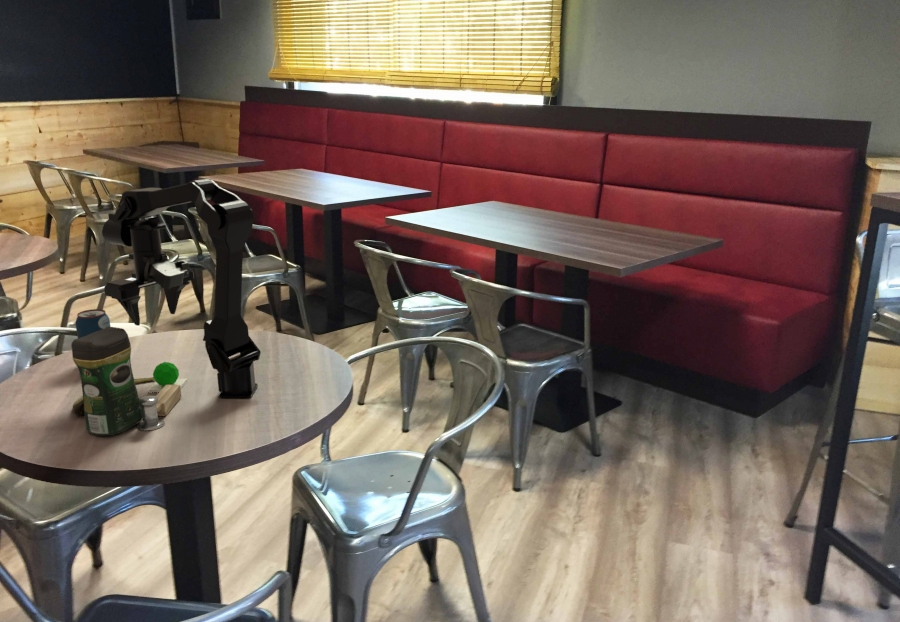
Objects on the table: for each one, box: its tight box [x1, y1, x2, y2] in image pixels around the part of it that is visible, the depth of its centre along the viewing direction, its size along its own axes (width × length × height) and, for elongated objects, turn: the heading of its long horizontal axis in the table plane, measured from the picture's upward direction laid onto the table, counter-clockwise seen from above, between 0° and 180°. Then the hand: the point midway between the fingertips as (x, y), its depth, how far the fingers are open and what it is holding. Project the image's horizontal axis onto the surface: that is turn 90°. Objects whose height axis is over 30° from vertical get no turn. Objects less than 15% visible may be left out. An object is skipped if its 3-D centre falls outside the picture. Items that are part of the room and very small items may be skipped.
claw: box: [72, 376, 155, 417], centre depth 150 cm, size 20×10×3 cm, turn 176°
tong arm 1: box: [155, 385, 173, 414], centre depth 145 cm, size 1×11×3 cm, turn 0°
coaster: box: [147, 378, 188, 394], centre depth 155 cm, size 6×6×1 cm
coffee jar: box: [71, 326, 143, 437], centre depth 135 cm, size 10×8×19 cm
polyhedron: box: [152, 361, 180, 386], centre depth 154 cm, size 5×5×5 cm
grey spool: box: [136, 395, 166, 432], centre depth 138 cm, size 5×5×5 cm
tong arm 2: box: [156, 385, 182, 417], centre depth 145 cm, size 2×11×3 cm, turn 1°
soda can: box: [75, 308, 111, 339], centre depth 167 cm, size 7×7×12 cm
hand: (155, 319), depth 160 cm, fingers open, 9 cm apart
